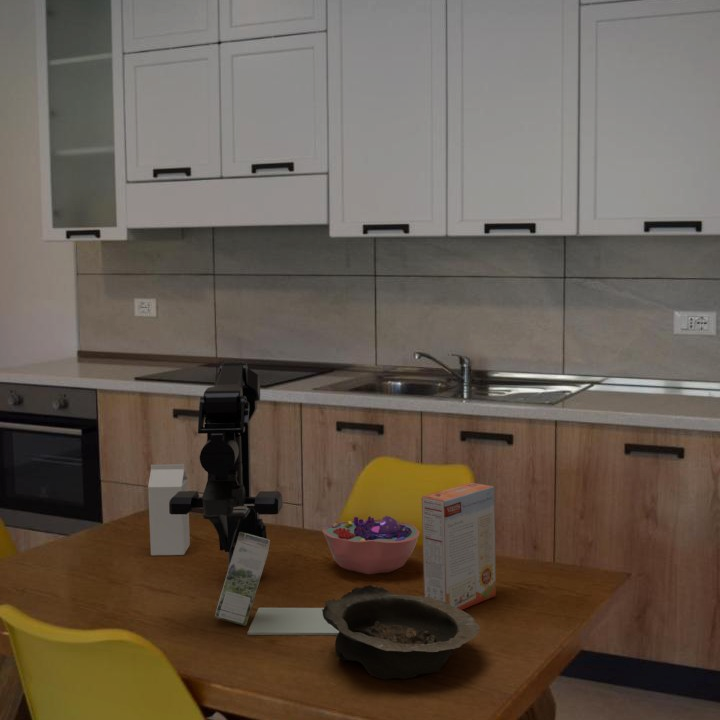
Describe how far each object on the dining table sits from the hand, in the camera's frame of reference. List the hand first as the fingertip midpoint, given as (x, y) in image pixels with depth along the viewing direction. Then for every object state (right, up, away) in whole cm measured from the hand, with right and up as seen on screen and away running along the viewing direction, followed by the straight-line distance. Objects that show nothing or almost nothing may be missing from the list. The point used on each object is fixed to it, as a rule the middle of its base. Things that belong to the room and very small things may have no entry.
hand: (227, 551), depth 179 cm
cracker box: (+41, -11, +9) cm, 43 cm away
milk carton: (-18, -8, +44) cm, 49 cm away
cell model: (+25, -9, +29) cm, 39 cm away
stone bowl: (+29, -14, -16) cm, 36 cm away
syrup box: (0, -12, +1) cm, 12 cm away
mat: (+12, -12, +1) cm, 17 cm away
